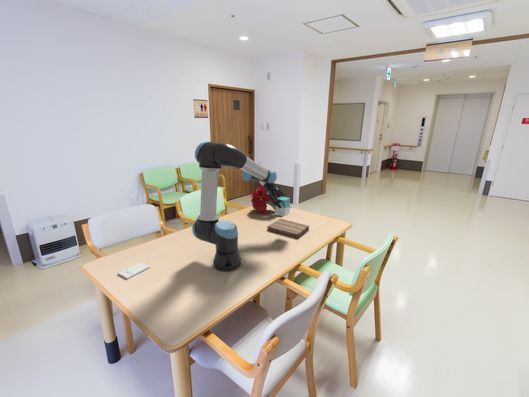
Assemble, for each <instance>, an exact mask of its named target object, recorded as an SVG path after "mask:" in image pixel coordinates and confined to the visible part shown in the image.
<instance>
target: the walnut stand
mask: <svg viewBox="0 0 529 397" xmlns="http://www.w3.org/2000/svg"><path fill="white" fill-rule="evenodd" d="M309 230H310V225H308V224H304V223H300V222H296V221H292V220H286V219H283V218H279V219H277V220H275V221H274V222H272V223H271V224H269V225H267V231H269V232H273V233H277V234H280V235H284V236H288V237H291V238H294V239H299V238H300V237H301V236H302V235H304V234H305V233H306V232H309Z"/></svg>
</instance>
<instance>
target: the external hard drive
mask: <svg viewBox="0 0 529 397" xmlns="http://www.w3.org/2000/svg"><path fill="white" fill-rule="evenodd" d="M150 268H151V267H150V266H149V265H147V264H146V263H143V262H138V263H135V264H134V265H132V266H130V267H128V268H125V269H124V270H122V271H121V270H120V272H118V273H117V275H118V276H120V277H123V279H125V280H129V279H131V278H133V277H135V276H137V275H139V274H142V273H143V272H145V271H147V270H149V269H150Z"/></svg>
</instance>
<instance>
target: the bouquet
mask: <svg viewBox="0 0 529 397" xmlns="http://www.w3.org/2000/svg"><path fill="white" fill-rule="evenodd" d="M266 192H268V191H267V190H265V189H264V187H263V186H262V185H259V186H258V187H257V188H256V189H255V190H254V191H253V192H252V194H251V196H250V199H251V200H250V202H251V204H252V205H251V206H252V208H253V210H256V211H257V212H261V213H263V214H266V213H267V208H268V206H270V207H272V209H273V210H274V211H276V206H275V205H274V204H273V203H272V201H271V200H270V198H269V196H268V195H267V194H266ZM276 197H277V198H278V196H277V195H276ZM274 203H275V202H274Z"/></svg>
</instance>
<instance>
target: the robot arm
mask: <svg viewBox="0 0 529 397" xmlns="http://www.w3.org/2000/svg"><path fill="white" fill-rule="evenodd" d="M194 158H195V160H196V162H197V163H199V164H198V165H199V166H198V167H199V169H200V170H201V182H200V184H201V185H200V186H201V187H200V207H199V209H200V210H199V211H200V212H199V215H198V216H197V217H196V219H194V221H193V222H194V223H192V227H191V231H192V235H193V236H194V237H195V238H196V239H198V240H200V241H203V242H207V243H209V244H213V245H215V255H214V258H213V264H212V266H213V268H214V269H216V270H218V271H219V272H220V271H221V272H232V271H235V270H237V269H238V268H240V267H242V258H241V256H240V252H239V248H238V247H239V246H238V243H239V242H238V241H239V240H238V237H239V236H238V235H239V232H238V231H239V230H238V227H237V225H236V224H235V223H234V222H232V221H229V220H220V221H219V216H218V215H217V200H218V183H219V172H220V171H221V170H222V167H227V168H228V167H229V168H233V169H236V170H242V172H241V178H242V179H243V180H244V181H245V182H249V181H254V182H255V181H257V182H259V183H260V184H261V185H262V186H263V187H264V189H265V190H267V191H268V192H266V194H267V195H268V196H269V198H270V200H271V201H272V203H273V204H274V205H275V206H276V205H277V206H278V207H279V208H280V210H281V211H282V212H283V213H284V212H285V211H286V210H285V208H284V207H283V206H282V204H281V203H279V201H278V199H277V197H276V195H277V196H278V197H280V196H282V197H287V196H286V194H285V193H284V192H283V191H282V190H281V189H280V187H279V186H275V182H276V181H277V176H278V174H277V172H276V171H273V170H270V169H269V170H268V168H265V167H263V166H262V164H260V163H259V162H256V161H254V160H253V159H251V158H250V157H248V156H247V154H246V153H245V152H243V151H242V150H241V149H238V148H237V147H235V146H234V145H232V144H229V143H224V142H212V141H203V142H200V143H199V144H198V145H197V147H196V149H195V151H194ZM261 185H260V186H261ZM274 202H275V203H274ZM291 208H292V206H291V205H290V209H291Z"/></svg>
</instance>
